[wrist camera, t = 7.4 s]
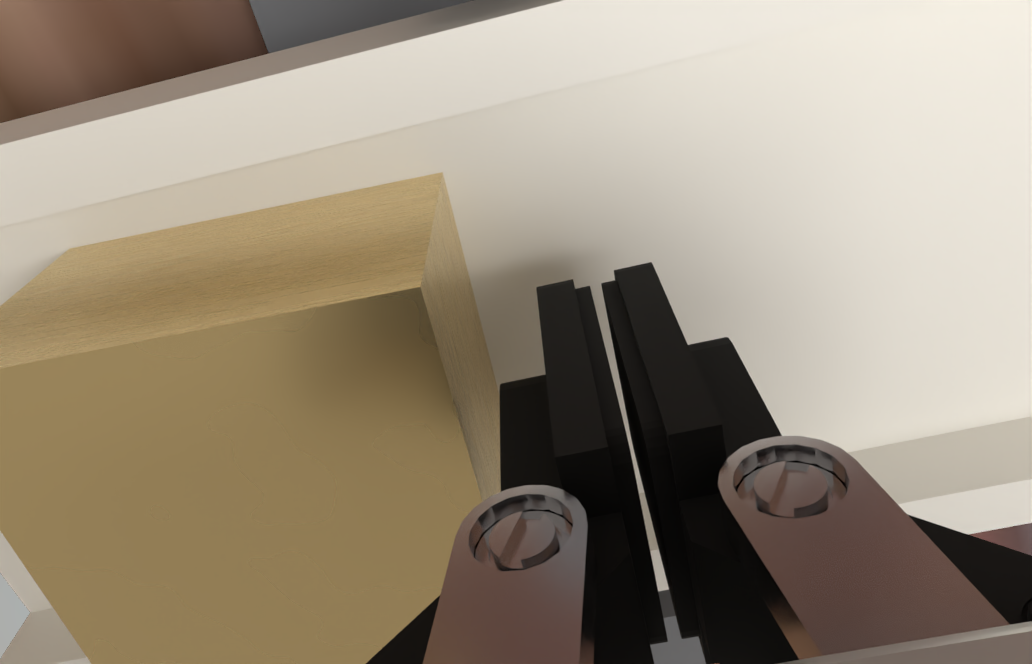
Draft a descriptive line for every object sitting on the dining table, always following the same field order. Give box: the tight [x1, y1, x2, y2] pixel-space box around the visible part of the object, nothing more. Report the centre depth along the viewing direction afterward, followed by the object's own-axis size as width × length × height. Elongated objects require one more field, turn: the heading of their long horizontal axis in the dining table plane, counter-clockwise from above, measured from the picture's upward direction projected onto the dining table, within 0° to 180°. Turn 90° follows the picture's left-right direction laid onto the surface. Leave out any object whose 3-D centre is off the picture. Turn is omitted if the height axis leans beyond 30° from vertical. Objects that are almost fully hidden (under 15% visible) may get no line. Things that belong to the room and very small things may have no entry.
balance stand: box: [249, 0, 706, 664], centre depth 16 cm, size 10×17×8 cm, turn 13°
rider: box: [0, 172, 501, 664], centre depth 12 cm, size 6×6×4 cm
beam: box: [0, 0, 1032, 664], centre depth 15 cm, size 24×10×6 cm, turn 103°
